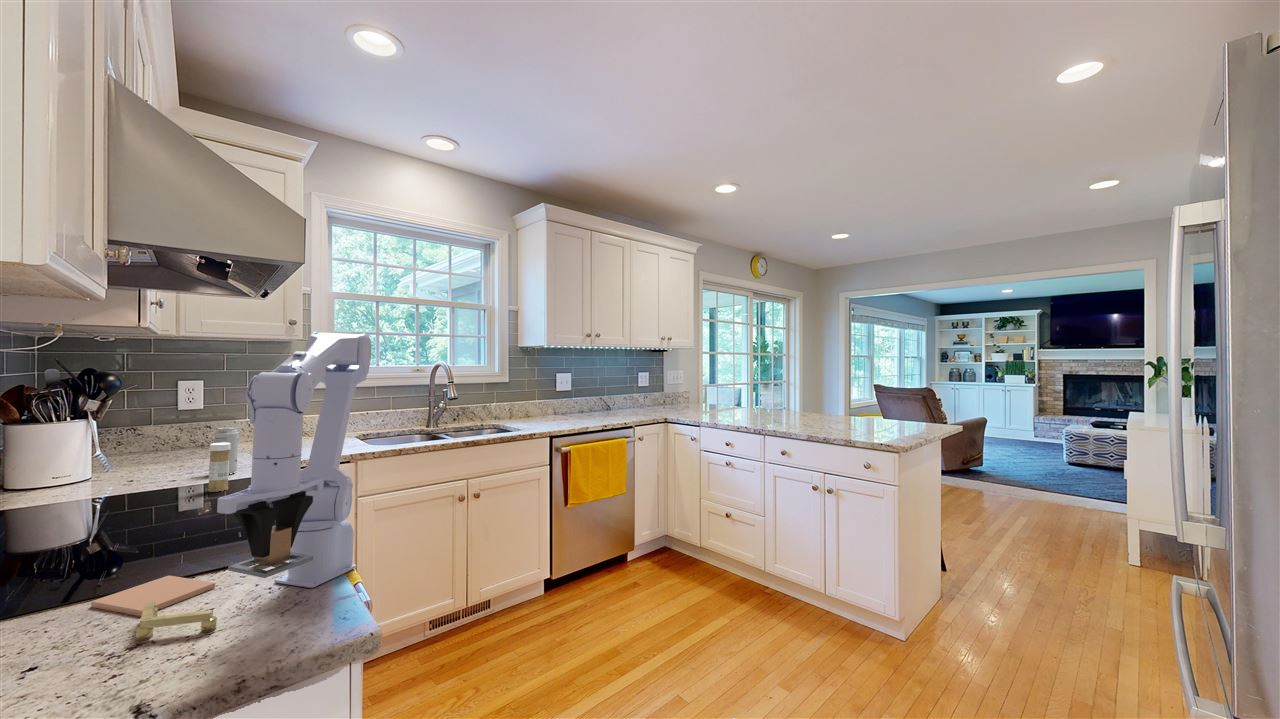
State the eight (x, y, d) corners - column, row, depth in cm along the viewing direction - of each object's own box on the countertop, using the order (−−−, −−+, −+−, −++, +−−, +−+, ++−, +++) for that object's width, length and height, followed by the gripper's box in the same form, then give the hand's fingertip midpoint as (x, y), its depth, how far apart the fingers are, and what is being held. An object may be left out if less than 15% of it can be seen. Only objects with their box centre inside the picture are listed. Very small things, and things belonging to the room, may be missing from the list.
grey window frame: (278, 553, 76) (280, 519, 76) (313, 560, 74) (314, 525, 74) (228, 570, 69) (230, 533, 69) (264, 578, 67) (266, 539, 67)
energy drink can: (240, 473, 166) (243, 428, 166) (219, 476, 160) (221, 429, 161) (229, 471, 168) (232, 426, 168) (208, 474, 163) (211, 428, 163)
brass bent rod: (154, 615, 72) (155, 598, 72) (219, 627, 69) (220, 610, 69) (105, 634, 67) (107, 616, 67) (174, 648, 64) (175, 629, 64)
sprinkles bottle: (226, 488, 146) (229, 441, 147) (229, 490, 143) (232, 443, 143) (206, 490, 143) (208, 442, 143) (208, 493, 140) (211, 444, 140)
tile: (168, 580, 84) (168, 575, 84) (214, 587, 81) (215, 582, 82) (91, 606, 74) (91, 601, 74) (141, 616, 72) (141, 610, 72)
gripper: (299, 447, 80) (295, 533, 79) (201, 462, 66) (195, 566, 65) (336, 450, 78) (332, 537, 78) (244, 466, 64) (238, 573, 64)
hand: (272, 551), depth 72 cm, fingers closed on grey window frame, 3 cm apart
